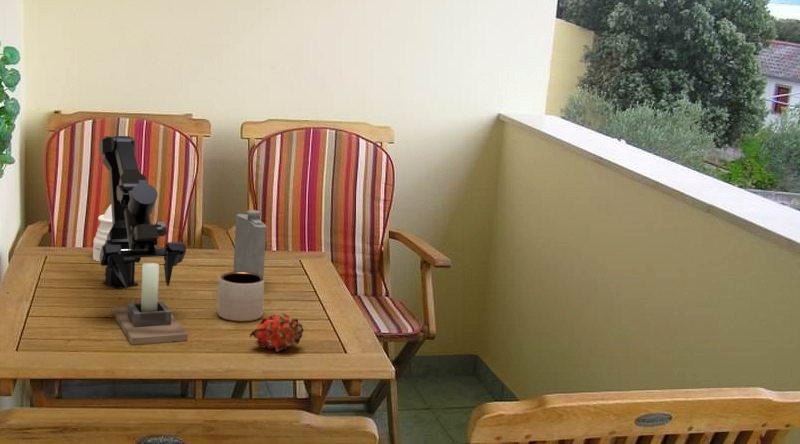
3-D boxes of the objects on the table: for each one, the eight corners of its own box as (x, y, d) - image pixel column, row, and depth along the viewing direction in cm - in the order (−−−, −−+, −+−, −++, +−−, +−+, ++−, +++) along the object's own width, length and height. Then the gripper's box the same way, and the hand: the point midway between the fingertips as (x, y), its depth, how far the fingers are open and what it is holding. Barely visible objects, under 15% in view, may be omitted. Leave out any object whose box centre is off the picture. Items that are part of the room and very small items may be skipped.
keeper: (112, 313, 222) (112, 294, 221) (163, 310, 227) (164, 292, 226) (131, 345, 203) (132, 325, 202) (187, 340, 208) (188, 321, 207)
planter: (270, 313, 232) (272, 276, 230) (249, 325, 221) (251, 286, 219) (231, 306, 235) (233, 268, 233) (208, 317, 225) (210, 278, 223)
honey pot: (86, 254, 269) (87, 192, 266) (129, 250, 277) (131, 190, 273) (102, 265, 260) (103, 201, 256) (147, 261, 267) (149, 199, 264)
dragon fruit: (306, 355, 210) (253, 365, 206) (298, 324, 215) (245, 332, 212) (309, 334, 203) (253, 343, 200) (300, 302, 209) (246, 311, 205)
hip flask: (231, 276, 261) (235, 205, 256) (245, 275, 263) (249, 204, 259) (253, 292, 247) (257, 217, 243) (267, 291, 249) (272, 217, 245)
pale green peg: (146, 316, 217) (148, 261, 214) (160, 319, 216) (162, 264, 213) (137, 320, 213) (139, 265, 211) (151, 323, 212) (153, 267, 210)
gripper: (102, 209, 212) (110, 270, 204) (185, 208, 220) (196, 267, 213) (96, 235, 220) (103, 294, 213) (176, 233, 229) (185, 290, 221)
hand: (147, 286), depth 215 cm, fingers open, 9 cm apart
